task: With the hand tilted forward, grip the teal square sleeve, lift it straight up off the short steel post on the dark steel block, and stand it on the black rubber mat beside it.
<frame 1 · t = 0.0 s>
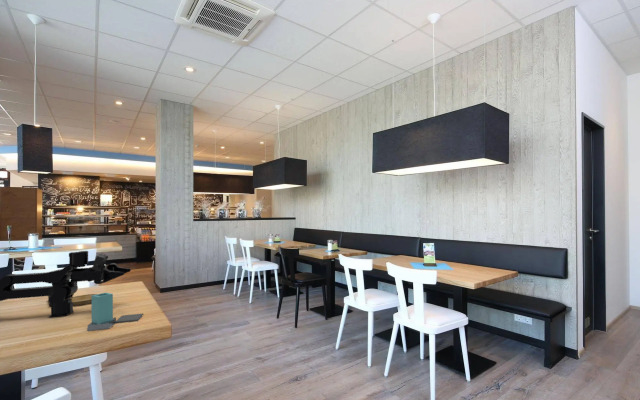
hand: (127, 271, 145), 17 cm above the table, tool horizontal, fingers open, 9 cm apart
teal sleeve: (102, 321, 121), point 2 cm above the table, touching steel stand
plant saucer: (82, 303, 157), on the table
rubber mat: (129, 318, 129), on the table
hand tool: (51, 304, 157), on the table
steel stand: (102, 326, 121), on the table
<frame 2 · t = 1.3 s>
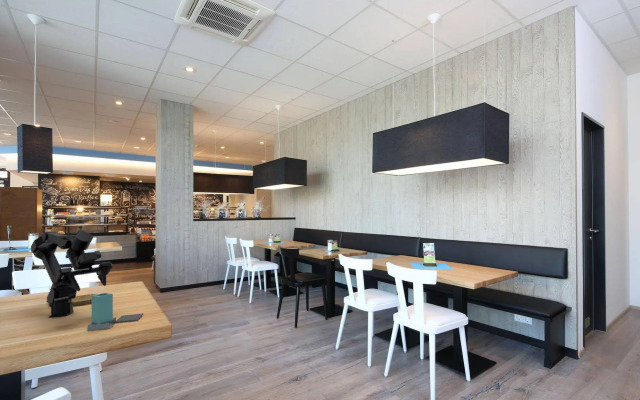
hand: (92, 287, 126), 14 cm above the table, tool tilted 45°, fingers open, 9 cm apart
nothing on the table moved.
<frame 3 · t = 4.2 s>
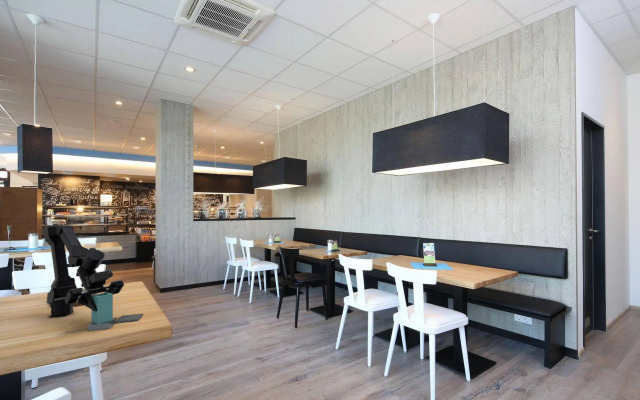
hand: (104, 308, 121), 7 cm above the table, tool tilted 45°, fingers closed on teal sleeve, 5 cm apart
teal sleeve: (102, 321, 121), point 2 cm above the table, touching gripper, steel stand
everything else where it was.
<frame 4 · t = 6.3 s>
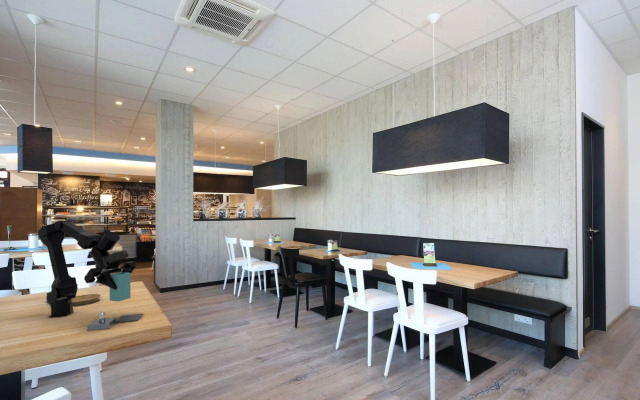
hand: (122, 287, 126), 14 cm above the table, tool tilted 45°, fingers closed on teal sleeve, 5 cm apart
teal sleeve: (120, 299, 126), point 9 cm above the table, touching gripper
everything else where it was.
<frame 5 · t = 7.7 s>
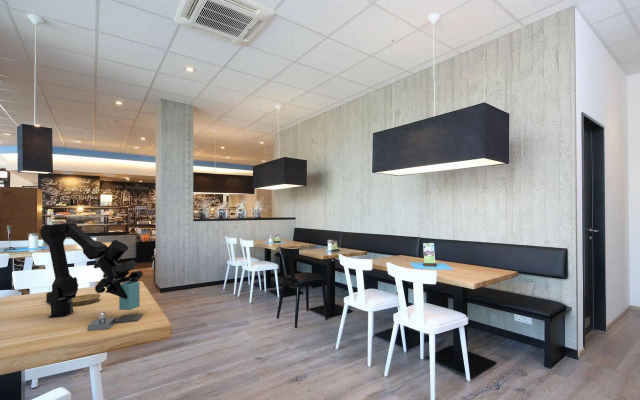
hand: (132, 296, 129), 9 cm above the table, tool tilted 45°, fingers closed on teal sleeve, 5 cm apart
teal sleeve: (129, 308, 129), point 4 cm above the table, touching gripper
everything else where it was.
when the fingers open (7 cm above the table, at t = 8.7 s): teal sleeve drops 1 cm, resting on rubber mat.
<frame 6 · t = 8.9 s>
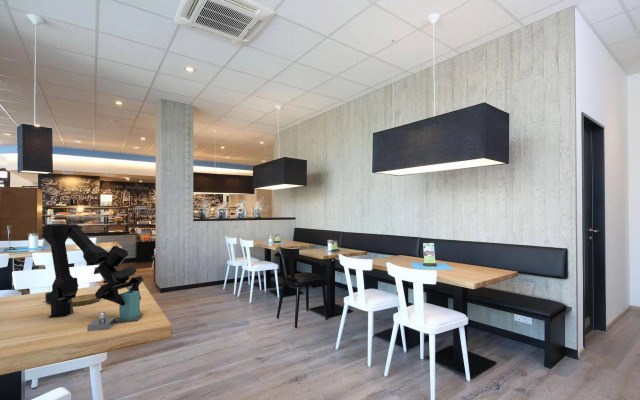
hand: (132, 302, 129), 7 cm above the table, tool tilted 45°, fingers open, 7 cm apart
teal sleeve: (129, 317, 129), point 1 cm above the table, touching rubber mat
everything else where it was.
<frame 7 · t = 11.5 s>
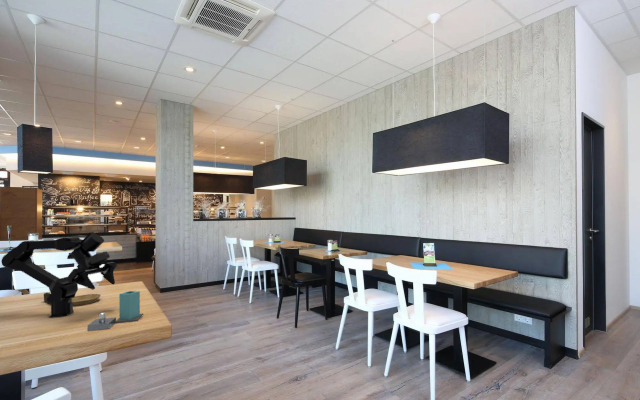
hand: (104, 286, 134), 12 cm above the table, tool tilted 45°, fingers open, 9 cm apart
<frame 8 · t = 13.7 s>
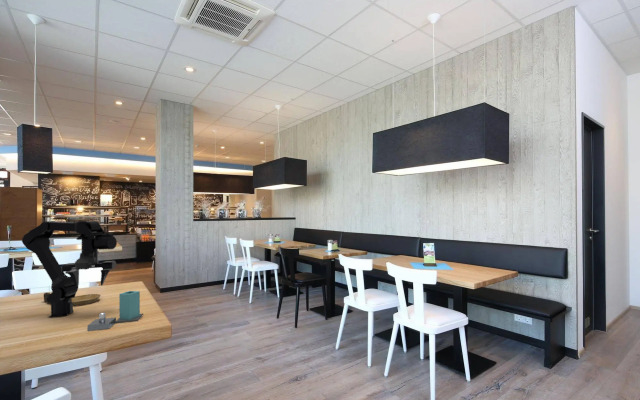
hand: (89, 286, 137), 12 cm above the table, tool pointing down, fingers open, 9 cm apart
nothing on the table moved.
at the end: teal sleeve 0.0 cm off-centre on the rubber mat, point 0.6 cm above the rubber mat's base; teal sleeve tilted 0°; the gripper is holding nothing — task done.
